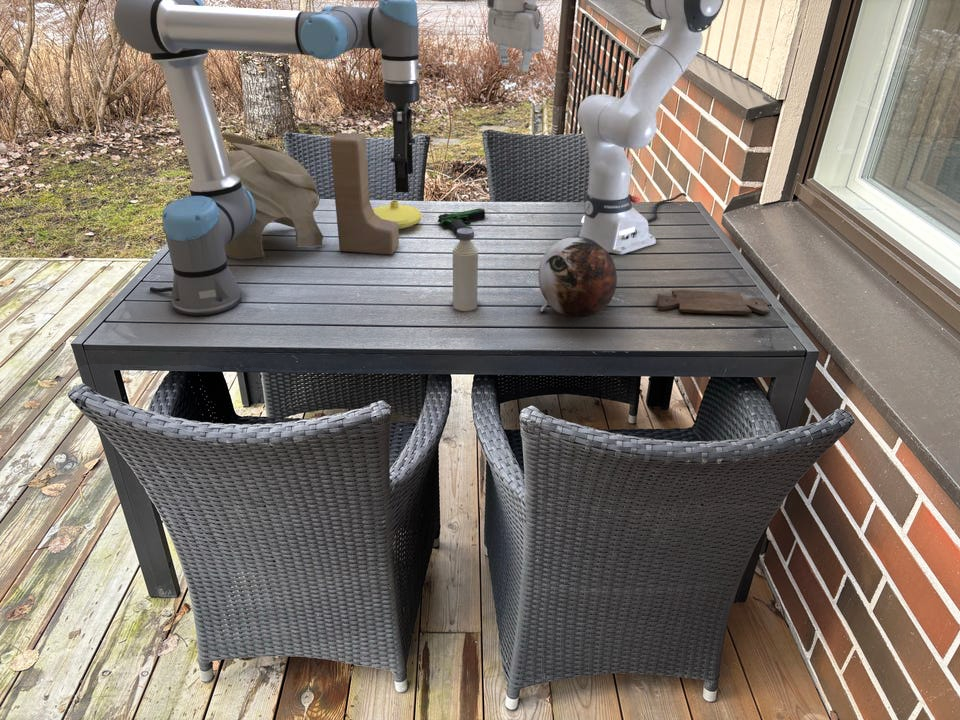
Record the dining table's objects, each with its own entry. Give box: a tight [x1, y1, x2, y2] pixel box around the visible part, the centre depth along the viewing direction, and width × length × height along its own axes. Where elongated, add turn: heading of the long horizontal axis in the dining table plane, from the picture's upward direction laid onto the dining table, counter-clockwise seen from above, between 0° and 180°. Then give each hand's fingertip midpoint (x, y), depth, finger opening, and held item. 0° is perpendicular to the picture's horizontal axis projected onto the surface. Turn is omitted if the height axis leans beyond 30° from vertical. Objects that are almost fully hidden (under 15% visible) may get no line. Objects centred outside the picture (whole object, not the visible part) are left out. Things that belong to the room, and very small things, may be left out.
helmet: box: [222, 133, 324, 260], centre depth 189 cm, size 27×30×30 cm
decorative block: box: [329, 132, 400, 255], centre depth 188 cm, size 8×15×30 cm, turn 82°
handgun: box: [437, 207, 486, 237], centre depth 211 cm, size 16×3×15 cm
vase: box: [372, 199, 423, 230], centre depth 210 cm, size 16×16×7 cm
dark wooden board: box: [656, 289, 771, 316], centre depth 168 cm, size 26×2×10 cm
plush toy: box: [537, 236, 618, 319], centre depth 161 cm, size 22×18×20 cm
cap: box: [456, 228, 475, 241], centre depth 158 cm, size 4×4×2 cm
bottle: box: [452, 240, 479, 312], centre depth 162 cm, size 6×6×18 cm
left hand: (404, 182), depth 158 cm, fingers open, 13 cm apart
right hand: (513, 68), depth 165 cm, fingers open, 8 cm apart
